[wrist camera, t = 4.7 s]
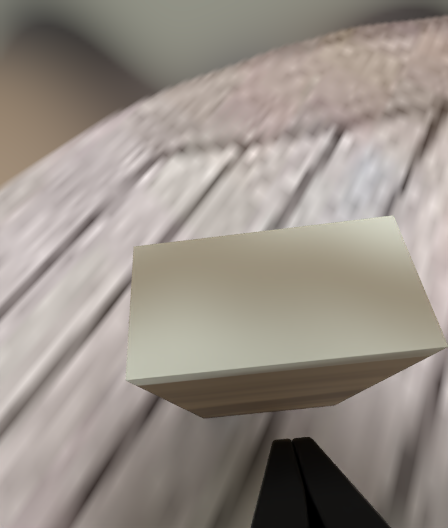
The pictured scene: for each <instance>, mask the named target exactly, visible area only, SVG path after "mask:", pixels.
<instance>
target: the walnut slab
mask: <svg viewBox="0 0 448 528" xmlns="http://www.w3.org/2000/svg"><path fill="white" fill-rule="evenodd" d="M447 347H448V345H447V342H446V340H445V337H444V335H443V333H442V330H441V328H440V326H439V323H438V321H437V318H436V316H435V314H434V311H433V309H432V306H431V304H430V302H429V299H428V297H427V295H426V292H425V290H424V287H423V285H422V283H421V280H420V278H419V276H418V273H417V271H416V268H415V266H414V264H413V261H412V259H411V256H410V254H409V252H408V249H407V247H406V245H405V242H404V240H403V237H402V235H401V233H400V230H399V228H398V226H397V223H396V221H395V218H394V216H385V217H377V218H369V219H360V220H352V221H344V222H335V223H327V224H319V225H310V226H302V227H294V228H285V229H277V230H269V231H260V232H252V233H244V234H235V235H227V236H219V237H211V238H202V239H194V240H186V241H177V242H169V243H161V244H152V245H144V246H136V247H134V251H133V267H132V284H131V300H130V316H129V332H128V349H127V365H126V381H128V382H130V383H132V384H134V385H136V386H138V387H140V388H142V389H144V390H147V391H149V392H151V393H153V394H155V395H157V396H159V397H161V398H163V399H165V400H167V401H169V402H171V403H173V404H175V405H177V406H179V407H181V408H183V409H186V410H188V411H190V412H192V413H194V414H196V415H198V416H200V417H202V418H213V417H223V416H233V415H243V414H253V413H263V412H274V411H284V410H294V409H304V408H314V407H324V406H334V405H336V404H338V403H340V402H342V401H344V400H346V399H348V398H350V397H352V396H354V395H355V394H357V393H359V392H361V391H363V390H365V389H367V388H369V387H371V386H373V385H375V384H377V383H379V382H381V381H383V380H385V379H387V378H388V377H390V376H392V375H394V374H396V373H398V372H400V371H402V370H404V369H406V368H408V367H410V366H412V365H414V364H416V363H418V362H420V361H422V360H423V359H425V358H427V357H429V356H431V355H433V354H435V353H437V352H439V351H441V350H443V349H445V348H447Z"/></svg>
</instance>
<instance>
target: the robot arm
mask: <svg viewBox="0 0 448 528" xmlns="http://www.w3.org/2000/svg"><path fill="white" fill-rule="evenodd" d="M251 528H391V527H390V526H389V525H388V523H387V522H386V521H385V520H384V519H383V518H382V517H381V516H380V514H379V513H378V512H377V511H376V510H375V509H374V508H373V507H372V505H371V504H370V503H369V502H368V501H367V500H366V499H365V498H364V496H363V495H362V494H361V493H360V492H359V491H358V490H357V489H356V487H355V486H354V485H353V484H352V483H351V482H350V481H349V480H348V478H347V477H346V476H345V475H344V474H343V473H342V472H341V471H340V469H339V468H338V467H337V466H336V465H335V464H334V463H333V462H332V460H331V459H330V458H329V457H328V456H327V455H326V454H325V453H324V451H323V450H322V449H321V448H320V447H319V446H318V445H317V444H316V442H315V441H314V440H313V439H312V438H310V437H302V438H294V439H293V440H292V441H291V440H290V439H281V440H274V441H273V443H272V446H271V450H270V454H269V458H268V462H267V465H266V469H265V473H264V477H263V481H262V485H261V489H260V493H259V497H258V501H257V505H256V508H255V512H254V516H253V520H252V524H251Z"/></svg>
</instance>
